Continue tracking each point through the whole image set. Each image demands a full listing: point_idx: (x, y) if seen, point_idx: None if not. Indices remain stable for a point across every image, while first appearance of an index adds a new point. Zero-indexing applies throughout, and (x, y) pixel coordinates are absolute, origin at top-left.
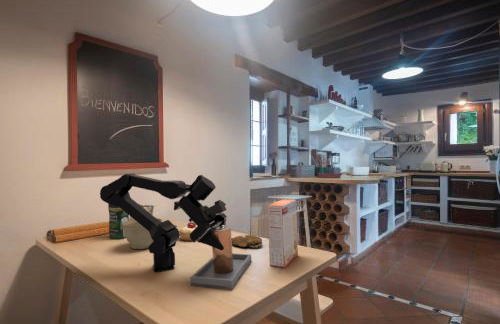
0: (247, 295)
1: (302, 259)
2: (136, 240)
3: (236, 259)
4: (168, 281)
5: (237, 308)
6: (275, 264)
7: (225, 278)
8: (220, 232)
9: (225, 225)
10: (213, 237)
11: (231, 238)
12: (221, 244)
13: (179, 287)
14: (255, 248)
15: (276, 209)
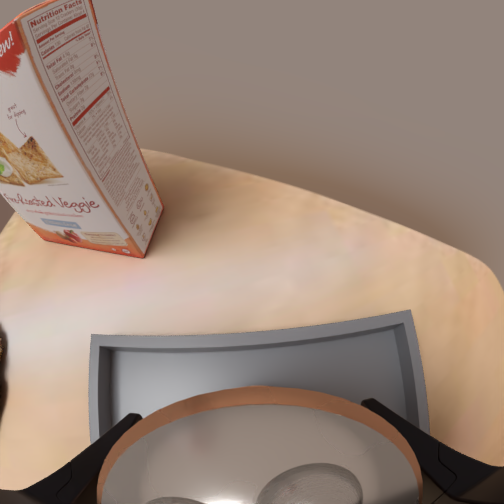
0: (402, 259)
1: None
2: None
3: (114, 408)
4: None
5: (458, 259)
6: (150, 233)
7: (347, 379)
8: (412, 461)
9: (18, 490)
10: (468, 463)
11: (122, 421)
12: (385, 417)
13: None
14: (3, 347)
15: (67, 12)
